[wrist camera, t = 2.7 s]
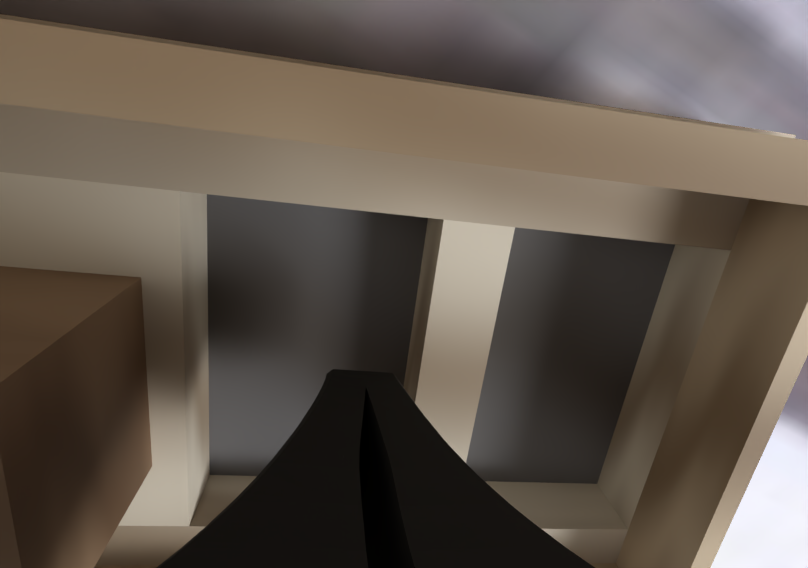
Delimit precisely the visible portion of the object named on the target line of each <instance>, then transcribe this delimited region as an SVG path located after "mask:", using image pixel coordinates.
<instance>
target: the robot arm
mask: <svg viewBox="0 0 808 568" xmlns="http://www.w3.org/2000/svg"><path fill="white" fill-rule="evenodd" d="M156 568H595V567H594V566H592V565H591V564H589V563H588V562H586V561H585V560H583V559H582V558H581V557H579V556H578V555H576V554H575V553H573V552H572V551H570V550H569V549H568V548H566V547H565V546H563V545H562V544H561V543H559V542H558V541H557V540H555V539H554V538H553V537H552V536H550V535H549V534H548V533H546V532H545V531H544V530H542V529H541V528H540V527H538V526H537V525H536V524H534V523H533V522H532V521H530V520H529V519H528V518H527V517H525V516H524V515H523V514H522V513H520V512H519V511H518V510H517V509H516V508H514V507H513V506H512V505H511V504H510V503H508V502H507V501H506V500H505V499H504V498H503V497H502V496H501V495H499V494H498V493H497V492H496V491H495V490H494V489H493V488H492V487H490V486H489V485H488V484H487V483H486V482H485V481H484V480H483V479H482V478H480V477H479V476H478V475H477V474H476V473H475V472H474V471H473V470H472V469H471V468H470V467H469V466H468V465H467V464H466V463H465V462H464V461H463V460H462V458H461V457H460V456H459V455H458V454H457V453H456V452H455V451H454V450H453V449H452V448H451V447H450V446H449V445H448V443H447V442H446V441H445V440H444V439H443V438H442V437H441V435H440V434H439V433H438V432H437V430H436V429H435V428H434V427H433V426H432V424H431V423H430V422H429V421H428V419H427V418H426V417H425V416H424V414H423V413H422V412H421V410H420V409H419V408H418V406H417V405H416V404H415V402H414V401H413V400H412V398H411V397H410V396H409V394H408V393H407V391H406V390H405V389H404V387H403V386H402V384H401V383H400V382H399V380H398V379H397V377H396V376H395V375H394V374H393V373H389V372H372V371H356V370H340V369H332V370H331V371H330V372H328V373H327V374H326V378H325V381H324V383H323V386H322V388H321V390H320V392H319V394H318V395H317V397H316V399H315V401H314V402H313V404H312V406H311V407H310V409H309V410H308V412H307V413H306V415H305V416H304V418H303V419H302V421H301V422H300V424H299V425H298V427H297V428H296V429H295V431H294V432H293V433H292V435H291V436H290V437H289V438H288V440H287V441H286V442H285V444H284V445H283V446H282V447H281V449H280V450H279V451H278V452H277V454H276V455H275V456H274V457H273V459H272V460H271V461H270V462H269V463H268V464H267V466H266V467H265V468H264V469H263V470H262V471H261V472H260V473H259V475H258V476H257V477H256V478H255V479H254V480H253V481H252V482H251V483H250V484H249V485H248V486H247V487H246V488H245V489H244V490H243V491H242V492H241V494H240V495H239V496H238V497H237V498H236V499H235V500H233V501H232V502H231V503H230V504H229V505H228V506H227V507H226V508H225V509H224V510H223V511H222V512H221V513H220V514H219V515H217V516H216V517H215V518H214V519H213V520H212V521H211V522H210V523H209V524H208V525H207V526H206V527H205V528H204V529H202V530H201V531H200V532H199V533H198V534H197V535H196V536H194V537H193V538H192V539H191V540H190V541H189V542H187V543H186V544H185V545H184V546H183V547H182V548H180V549H179V550H178V551H177V552H175V553H174V554H173V555H171V556H170V557H169V558H168V559H166V560H165V561H164V562H163V563H161V564H160V565H159V566H158V567H156Z"/></svg>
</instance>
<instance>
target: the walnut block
mask: <svg viewBox="0 0 808 568" xmlns="http://www.w3.org/2000/svg"><path fill="white" fill-rule="evenodd" d="M151 467H152V452H151V435H150V418H149V401H148V384H147V367H146V350H145V333H144V316H143V299H142V282H141V277H130V276H118V275H105V274H93V273H81V272H68V271H56V270H43V269H31V268H19V267H6V266H0V568H94V567H95V565H96V563H97V561H98V560H99V558H100V556H101V554H102V553H103V551H104V549H105V548H106V546H107V544H108V542H109V541H110V539H111V537H112V535H113V534H114V532H115V530H116V528H117V527H118V525H119V523H120V521H121V520H122V518H123V516H124V514H125V513H126V511H127V509H128V507H129V506H130V504H131V502H132V501H133V499H134V497H135V495H136V494H137V492H138V490H139V488H140V487H141V485H142V483H143V481H144V480H145V478H146V476H147V474H148V473H149V471H150V469H151Z"/></svg>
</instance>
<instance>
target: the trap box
mask: <svg viewBox="0 0 808 568" xmlns="http://www.w3.org/2000/svg"><path fill="white" fill-rule="evenodd" d="M795 136H796V135H791V134H785V133H778V132H772V131H765V130H759V129H752V128H745V127H739V126H732V125H726V124H719V123H713V122H706V121H699V120H693V119H686V118H680V117H673V116H667V115H660V114H654V113H647V112H640V111H634V110H627V109H621V108H614V107H608V106H601V105H594V104H588V103H581V102H575V101H568V100H562V99H555V98H548V97H542V96H535V95H529V94H522V93H516V92H509V91H502V90H496V89H489V88H483V87H476V86H470V85H463V84H457V83H450V82H443V81H437V80H430V79H424V78H417V77H411V76H404V75H397V74H391V73H384V72H378V71H371V70H365V69H358V68H351V67H345V66H338V65H332V64H325V63H319V62H312V61H306V60H299V59H292V58H286V57H279V56H273V55H266V54H260V53H253V52H246V51H240V50H233V49H227V48H220V47H214V46H207V45H200V44H194V43H187V42H181V41H174V40H168V39H161V38H154V37H148V36H141V35H135V34H128V33H122V32H115V31H109V30H102V29H95V28H89V27H82V26H76V25H69V24H63V23H56V22H49V21H43V20H36V19H30V18H23V17H17V16H10V15H3V14H0V266H6V267H19V268H31V269H43V270H56V271H68V272H81V273H93V274H105V275H118V276H130V277H141V282H142V299H143V316H144V333H145V350H146V367H147V384H148V401H149V418H150V435H151V452H152V467H151V469H150V471H149V473H148V474H147V476H146V478H145V480H144V481H143V483H142V485H141V487H140V488H139V490H138V492H137V494H136V495H135V497H134V499H133V501H132V502H131V504H130V506H129V507H128V509H127V511H126V513H125V514H124V516H123V518H122V520H121V521H120V523H119V525H118V527H117V528H116V530H115V532H114V534H113V535H112V537H111V539H110V541H109V542H108V544H107V546H106V548H105V549H104V551H103V553H102V554H101V556H100V558H99V560H98V561H97V563H96V565H95V567H94V568H156V567H158V566H159V565H160V564H161V563H163V562H164V561H165V560H166V559H168V558H169V557H170V556H171V555H173V554H174V553H175V552H177V551H178V550H179V549H180V548H182V547H183V546H184V545H185V544H186V543H187V542H189V541H190V540H191V539H192V538H193V537H194V536H196V535H197V534H198V533H199V532H200V531H201V530H202V529H204V528H205V527H206V526H207V525H208V524H209V523H210V522H211V521H212V520H213V519H214V518H215V517H216V516H217V515H219V514H220V513H221V512H222V511H223V510H224V509H225V508H226V507H227V506H228V505H229V504H230V503H231V502H232V501H233V500H235V499H236V498H237V497H238V496H239V495H240V494H241V492H242V491H243V490H244V489H245V488H246V487H247V486H248V485H249V484H250V483H251V482H252V481H253V480H254V479H255V478H256V477H257V476H258V475H259V473H260V472H261V471H262V470H263V469H264V468H265V467H266V466H267V464H268V463H269V462H270V461H271V460H272V459H273V457H274V456H275V455H276V454H277V452H278V451H279V450H280V449H281V447H282V446H283V445H284V444H285V442H286V441H287V440H288V438H289V437H290V436H291V435H292V433H293V432H294V431H295V429H296V428H297V427H298V425H299V424H300V422H301V421H302V419H303V418H304V416H305V415H306V413H307V412H308V410H309V409H310V407H311V406H312V404H313V402H314V401H315V399H316V397H317V395H318V394H319V392H320V390H321V388H322V386H323V383H324V381H325V378H326V374H327V373H328V372H330V371H331V370H332V369H340V370H356V371H372V372H389V373H393V374H394V375H395V376H396V377H397V379H398V380H399V382H400V383H401V384H402V386H403V387H404V389H405V390H406V391H407V393H408V394H409V396H410V397H411V398H412V400H413V401H414V402H415V404H416V405H417V406H418V408H419V409H420V410H421V412H422V413H423V414H424V416H425V417H426V418H427V419H428V421H429V422H430V423H431V424H432V426H433V427H434V428H435V429H436V430H437V432H438V433H439V434H440V435H441V437H442V438H443V439H444V440H445V441H446V442H447V443H448V445H449V446H450V447H451V448H452V449H453V450H454V451H455V452H456V453H457V454H458V455H459V456H460V457H461V458H462V460H463V461H464V462H465V463H466V464H467V465H468V466H469V467H470V468H471V469H472V470H473V471H474V472H475V473H476V474H477V475H478V476H479V477H480V478H482V479H483V480H484V481H485V482H486V483H487V484H488V485H489V486H490V487H492V488H493V489H494V490H495V491H496V492H497V493H498V494H499V495H501V496H502V497H503V498H504V499H505V500H506V501H507V502H508V503H510V504H511V505H512V506H513V507H514V508H516V509H517V510H518V511H519V512H520V513H522V514H523V515H524V516H525V517H527V518H528V519H529V520H530V521H532V522H533V523H534V524H536V525H537V526H538V527H540V528H541V529H542V530H544V531H545V532H546V533H548V534H549V535H550V536H552V537H553V538H554V539H555V540H557V541H558V542H559V543H561V544H562V545H563V546H565V547H566V548H568V549H569V550H570V551H572V552H573V553H575V554H576V555H578V556H579V557H581V558H582V559H583V560H585V561H586V562H588V563H589V564H591V565H592V566H594V567H595V568H710V567H711V565H712V563H713V561H714V558H715V556H716V554H717V552H718V550H719V547H720V545H721V543H722V541H723V539H724V537H725V534H726V532H727V530H728V528H729V526H730V523H731V521H732V519H733V517H734V515H735V513H736V510H737V508H738V506H739V504H740V502H741V499H742V497H743V495H744V493H745V491H746V489H747V486H748V484H749V482H750V480H751V478H752V475H753V473H754V471H755V469H756V467H757V465H758V462H759V460H760V458H761V456H762V454H763V451H764V449H765V447H766V445H767V443H768V441H769V438H770V436H771V434H772V432H773V430H774V427H775V425H776V423H777V421H778V419H779V416H780V414H781V412H782V410H783V408H784V406H785V403H786V401H787V399H788V397H789V395H790V392H791V390H792V388H793V386H794V384H795V382H796V379H797V377H798V375H799V373H800V371H801V368H802V366H803V364H804V362H805V360H806V358H807V355H808V140H801V139H795Z"/></svg>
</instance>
